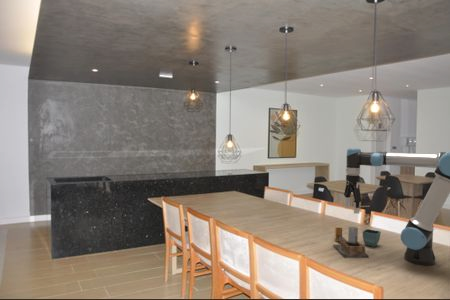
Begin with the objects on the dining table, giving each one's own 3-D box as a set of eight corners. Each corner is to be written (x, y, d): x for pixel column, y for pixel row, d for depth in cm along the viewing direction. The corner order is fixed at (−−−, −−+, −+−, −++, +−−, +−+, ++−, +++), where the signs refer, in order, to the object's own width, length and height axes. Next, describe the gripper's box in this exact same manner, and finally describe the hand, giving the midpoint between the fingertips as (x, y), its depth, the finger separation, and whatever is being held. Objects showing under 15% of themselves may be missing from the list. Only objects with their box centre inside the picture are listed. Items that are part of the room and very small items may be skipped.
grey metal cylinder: (355, 250, 200) (355, 226, 199) (358, 253, 195) (359, 229, 194) (346, 250, 200) (347, 226, 199) (349, 253, 195) (350, 229, 194)
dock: (355, 246, 210) (355, 237, 210) (368, 257, 191) (369, 247, 191) (333, 246, 210) (333, 237, 210) (344, 257, 191) (344, 247, 191)
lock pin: (340, 239, 223) (341, 226, 222) (352, 250, 202) (353, 236, 202) (334, 239, 223) (335, 226, 222) (345, 250, 202) (346, 236, 202)
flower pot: (366, 242, 220) (366, 228, 219) (380, 245, 214) (381, 231, 214) (361, 245, 213) (362, 231, 212) (376, 248, 207) (377, 234, 207)
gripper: (339, 172, 211) (338, 206, 212) (354, 177, 186) (353, 215, 187) (351, 172, 211) (350, 206, 212) (368, 177, 186) (367, 215, 187)
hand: (351, 210), depth 199 cm, fingers open, 13 cm apart
